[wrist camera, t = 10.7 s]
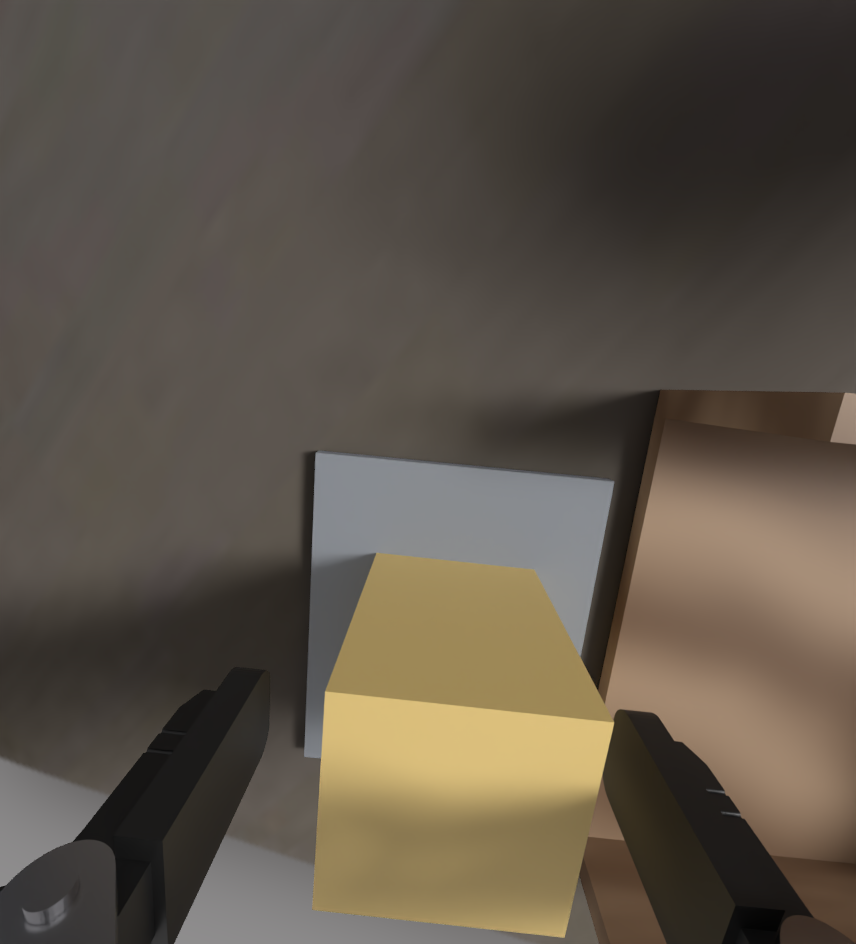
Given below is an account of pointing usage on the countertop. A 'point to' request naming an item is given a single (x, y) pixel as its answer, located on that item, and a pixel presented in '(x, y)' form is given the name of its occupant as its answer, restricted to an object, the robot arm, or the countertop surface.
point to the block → (457, 752)
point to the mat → (443, 539)
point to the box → (743, 636)
